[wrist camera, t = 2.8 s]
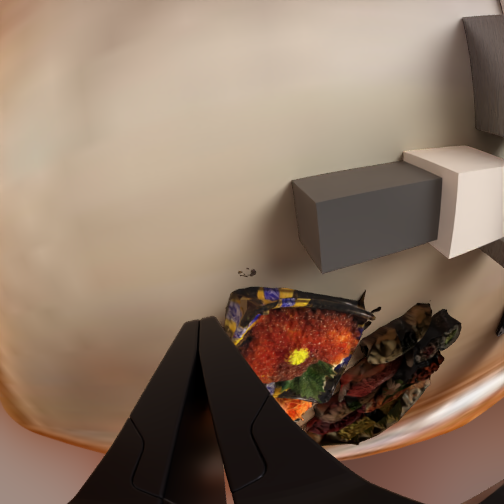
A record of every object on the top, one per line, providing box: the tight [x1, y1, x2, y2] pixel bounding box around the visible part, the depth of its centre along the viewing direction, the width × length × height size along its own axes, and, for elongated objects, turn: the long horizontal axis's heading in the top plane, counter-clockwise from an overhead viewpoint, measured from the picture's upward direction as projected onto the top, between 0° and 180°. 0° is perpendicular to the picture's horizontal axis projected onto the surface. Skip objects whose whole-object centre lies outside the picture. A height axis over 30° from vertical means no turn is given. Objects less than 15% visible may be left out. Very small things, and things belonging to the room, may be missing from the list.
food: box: [224, 268, 461, 446], centre depth 20 cm, size 22×19×4 cm
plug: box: [292, 145, 504, 274], centre depth 12 cm, size 4×12×4 cm, turn 101°
